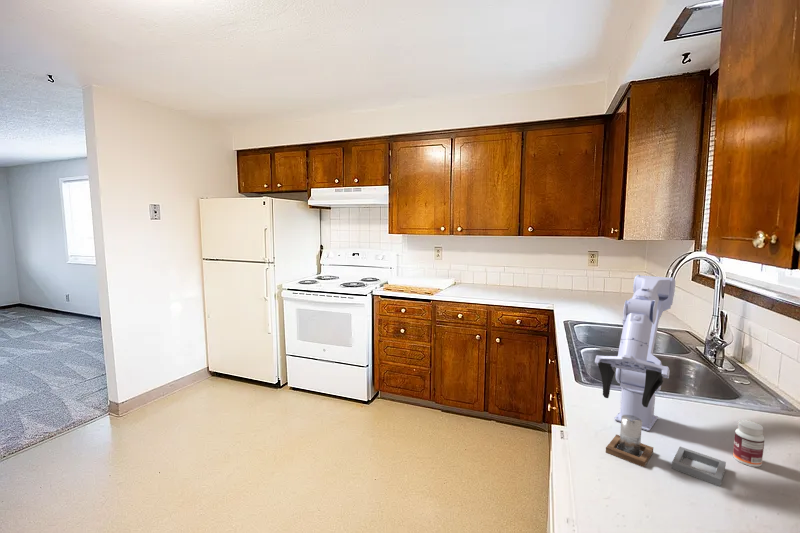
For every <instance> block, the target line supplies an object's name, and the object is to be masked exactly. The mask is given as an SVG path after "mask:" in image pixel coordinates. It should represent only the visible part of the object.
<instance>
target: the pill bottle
mask: <svg viewBox="0 0 800 533" xmlns="http://www.w3.org/2000/svg"><path fill="white" fill-rule="evenodd" d="M737 422H738V423H737V428H736V429H735V431H734V440H733V449H732V456H733V458H734V459H735V461H738V462H739V463H740V464H743V465H746V466H750V467H755V468H758V467H761V466H762V464H763V456H764V450H765V449H764V447H765V436H764V435H763V434H764V426H762V425H761V424H759V423H757V422H754V421H752V420H751V421H750V420H746V419H740V420H738V421H737Z"/></svg>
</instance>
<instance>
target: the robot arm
mask: <svg viewBox="0 0 800 533" xmlns="http://www.w3.org/2000/svg"><path fill="white" fill-rule="evenodd" d="M632 288H633V289H632V292H633V294H632V297H630V298H629V299H628V300H627V299H626V300H625V301H624V303H623V304H624V305H623V308H622V310H623V312H622V315H623V316H622V330H621V334H620V340H619V346H618V353H617V355H599V354H597V355H595V359H594V363H595V365H596V366H597V367H598V370H599V372H600V377H601V383H602V396H603V397H604V398H605V399H609V397H610V391H611V385H612V381H613V378H614V375H615V381H616V382H617V383H618V384H619V386H620V388H621V392H620V393H621V394H620V408H619V409H620V410H619V413H618V414H617V415H616V416H615V417H614V421H617V422H620V423H621V416H623V415H632V416H635V417H638V418H639V419H641V420H642V430H644V431H647V432H650V431H651V429H652V428H653V427H654V425H655V424H656V422H657V420H658V419H659V417H658V416H657V415H656V414H655V403H656V402H655V401H656V393H658V392H659V391H661V388H662V385H663V382H664V379H670V371H671V370H670V368H669V366H667V365H666V366H665V365H663V364H662V361H661V360H660V359H659V358H658V357H656V356H655V355H654V349H655V344H656V339H657V338H656V337H657V333H658V328H659V322H660V318H661V317H662V315H663V312H665V311H667V310H670V309H671V308H672V305H673V303H674V302H673V301H674V296H675V292H676V278H674V277H672V276H671V277H669V276H668V277H665V276H654V275H640V274H637V275H635V277H634V279H633V286H632ZM613 368H614V369H615V371H614V369H613ZM663 378H664V379H663Z"/></svg>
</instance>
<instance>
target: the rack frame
mask: <svg viewBox="0 0 800 533" xmlns="http://www.w3.org/2000/svg"><path fill="white" fill-rule="evenodd" d="M684 457H685V458H688V459H689V460H692V461H695V462H698V463H702V464H705V465H707V466H710V467H713V468H715V469H716V472H715V474H713V473H711V472H707V471H705V470H702V469H700V468H696V467H694V466H691V465H688V464H686V463H683V462H682V461H683V459H684ZM726 463H727V462H726V461H724V460H721V459H718V458H716V457H712V456H709V455H708V454H707V455H706V454H703V453H700V452H697V451H695V450H691V449H689V448H686V447H682V446H679V447H678V449H677V451H676V454H675V455H674V458H673V459H672V462H671V469H672V470H675V471H677V472H679V473H683V474H686V475H688V476H691V477H693V478H695V479H699V480H702V481H704V482H707V483H710V484H712V485H715V486H717V487H721V485H722V482H723V479H724V475H725V471H726V465H727V464H726Z"/></svg>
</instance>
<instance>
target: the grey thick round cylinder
mask: <svg viewBox="0 0 800 533" xmlns="http://www.w3.org/2000/svg"><path fill="white" fill-rule="evenodd" d="M642 430H643V429H642V420H641V419H639V418H638V417H635V416H632V415H623V416H621V422H620V432H619V436H620V444H619V445H618V446H619V448H618V449H619V450H622V451H624V452H627V453H629V454H632V455H635V456H637V457H640V456H641V455H640V454H641V451H640V444H641V442H642V441H641V440H642Z"/></svg>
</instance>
